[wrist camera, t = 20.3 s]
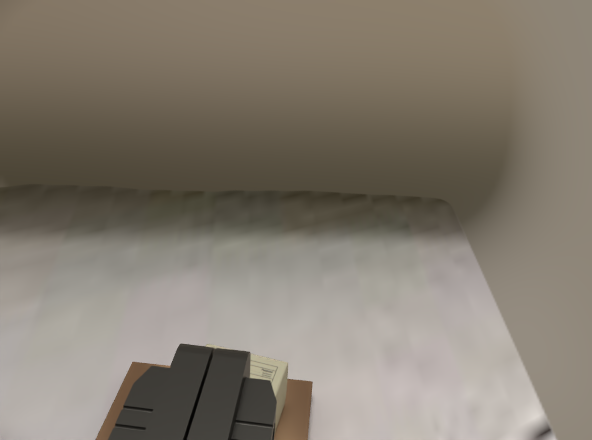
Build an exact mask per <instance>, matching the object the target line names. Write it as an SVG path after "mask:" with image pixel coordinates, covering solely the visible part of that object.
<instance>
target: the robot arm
mask: <svg viewBox="0 0 592 440" xmlns="http://www.w3.org/2000/svg"><path fill="white" fill-rule="evenodd" d="M250 362H251V354H250V352H246V351H238V350H230V349H222V348H216V349H215V348H213V347H205V346H197V345H189V344H180V345H179V347H178V348H177V351H176V353H175V356H174V358H173V361H172V363H171V366H170V368H167V367H159V366H151V367H150V368H149V369H148V370H147V371H146V372H145V373H144V374H143V375H142V376H140V377H139V378H138V379H137V380H136V381H135V382H134V383H133V385H132V388H131V390H130V392H129V394H128V396H127V399H126V401H125V403H124V405H123V410H121V412H120V414H119V416H118V418H117V421H116V423H115V427H114V428H113V429H112V432H111V434H110V436H109V438H108V440H274V435H275V421H276V408H277V400H276V397H275V394H274V391H273V387H272V384H271V381H270V380H263V379H255V378H250Z"/></svg>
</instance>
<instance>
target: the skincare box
mask: <svg viewBox="0 0 592 440" xmlns="http://www.w3.org/2000/svg"><path fill="white" fill-rule="evenodd" d="M205 347H213V348H215V349H216V348H222V349H228V348H224V347H219V346H215V345H211V344H207V345H206V346H205ZM230 350H233V349H230ZM250 354H251V353H250ZM287 375H288V363H287V362H283V361H278V360H275V359H270V358H266V357H262V356H258V355H254V354H251V362H250V378H255V379H263V380H270V381H271V384H272V387H273V391H274V394H275V397H276V400H277V408H276V421H275V431H276V428H277V425H278V423H279V419H280V416H281V413H282V410H283V407H284V404H285V399H286V391H287Z"/></svg>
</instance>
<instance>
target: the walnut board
mask: <svg viewBox="0 0 592 440" xmlns="http://www.w3.org/2000/svg"><path fill="white" fill-rule="evenodd" d="M151 366H159V367H167V368H170V366H166V365H157V364H148V363H139V362H132V364H131V366H130V368H129V371H128V373H127V375H126V377H125V379H124V381H123V383H122V385H121V387H120V389H119V392H118V394H117V396H116V398H115V400H114V402H113V404H112V406H111V408H110V410H109V413H108V415H107V417H106V419H105V421H104V423H103V425H102V427H101V429H100V432H99V434H98V436H97V438H96V440H108V438H109V436H110V434H111V432H112V429H113V428H114V427H115V423H116V421H117V418H118V416H119V414H120V412H121V410H123V405H124V403H125V401H126V399H127V396H128V394H129V392H130V390H131V388H132V385H133V383H134V382H135V381H136V380H137V379H138V378H139V377H140V376H142V375H143V374H144V373H145V372H146V371H147V370H148V369H149V368H150V367H151ZM312 383H313V382H311V381H302V380H293V379H287V391H286V399H285V404H284V407H283V410H282V413H281V416H280V419H279V423H278V425H277V428H276V431H275V435H274V440H307V439H308V428H309V417H310V405H311V394H312Z"/></svg>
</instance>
